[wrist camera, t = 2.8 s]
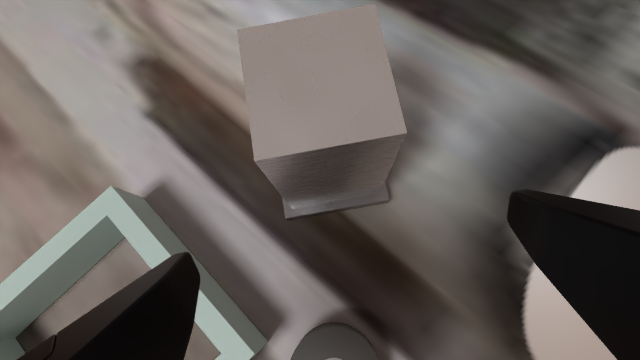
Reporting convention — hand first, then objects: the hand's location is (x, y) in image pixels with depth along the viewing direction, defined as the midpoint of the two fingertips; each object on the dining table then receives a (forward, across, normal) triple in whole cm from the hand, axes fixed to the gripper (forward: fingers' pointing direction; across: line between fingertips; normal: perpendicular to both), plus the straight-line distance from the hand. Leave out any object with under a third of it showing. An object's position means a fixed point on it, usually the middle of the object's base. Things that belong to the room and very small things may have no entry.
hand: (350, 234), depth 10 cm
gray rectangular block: (+14, 0, -5) cm, 14 cm away
